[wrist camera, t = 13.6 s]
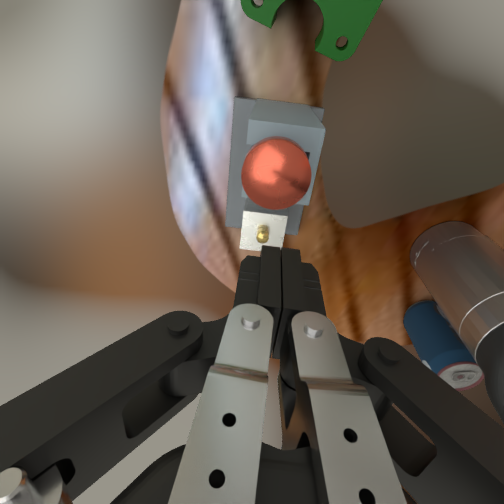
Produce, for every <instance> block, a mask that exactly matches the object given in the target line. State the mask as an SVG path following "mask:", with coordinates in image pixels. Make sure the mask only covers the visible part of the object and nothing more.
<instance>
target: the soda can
mask: <svg viewBox="0 0 504 504" xmlns="http://www.w3.org/2000/svg"><path fill="white" fill-rule="evenodd" d="M403 322H404V327H405V329H406V331H407V333H408V335H409V337H410V339H411V341H412V343H413V345H414V347H415V349H416V351H417V353H418V355H419V357H420V359H421V362H422V363H423V364H424V365H426V366H427V367H428V368H429V369H431V370H432V371H433V372H434V373H436V374H437V375H438V376H439V377H441V378H442V379H443V380H444V381H446V382H447V383H448V384H449V385H451V386H452V387H453V388H454V389H456V390H457V391H463V390H467V389H470V388H472V387H475V386H476V385H478V384H479V383H480V382H481V381H482V380H483V379H484V374H483V372H482V371H481V369H480V367H479V366H478V364H477V363H476V361H475V360H474V358H473V357H472V355H471V354H470V352H469V351H468V349H467V348H466V346H465V345H464V343H463V342H462V340H461V339H460V337H459V336H458V334H457V333H456V331H455V330H454V328H453V327H452V325H451V324H450V322H449V321H448V319H447V318H446V316H445V315H444V313H443V312H442V310H441V309H440V307H439V306H438V304H437V303H436V302H434V301H430V300H425V301H420V302H417V303H415V304H413V305H411V306H410V307H409V308H408V309H407V311H406V313H405V316H404V321H403Z"/></svg>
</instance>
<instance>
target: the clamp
mask: <svg viewBox="0 0 504 504" xmlns="http://www.w3.org/2000/svg"><path fill="white" fill-rule="evenodd" d="M284 1H285V0H264V1H263V5H261V6H258V5H256V4H255V3H254V1H253V0H241V6H242V9H243V11H244V12H245V14H246V15H247V16H248V17H249V18H251V19H253V20H255V21H257V22H259V23H261V24H263V25H265V26H267V27H269V28H271V27H272V25H273V24H274V22H275V20H276V14H277V10H278V8H279V6H280V5H281V4H282V3H283V2H284ZM314 1H315V2H316V3H317V4H318V6H319V7H320V9H321V11H322V14H323V17H324V21H323V26H322V29H321V31H320V33H319V35H318V37H317V38H316V39H315V51H317V52H319V53H321V54H323V55H325V56H327V57H329V58H331V59H333V60H335V61H344V60H346V59H348V58H349V57H351V56H352V54H353V53H354V52H355V50H356V48H357V47H358V45H359V43H360V41H361V39H362V37H363V36H364V34H365V32H366V30H367V28H368V26H369V25H370V23H371V21H372V19H373V17H374V15H375V13H376V12H377V10H378V8H379V6H380V4H381V2H382V1H383V0H314ZM341 36H345V37H347V43H346V44H345V45H344V46H343V47H338V46H337V45H336V41H337V39H338V38H339V37H341Z"/></svg>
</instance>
